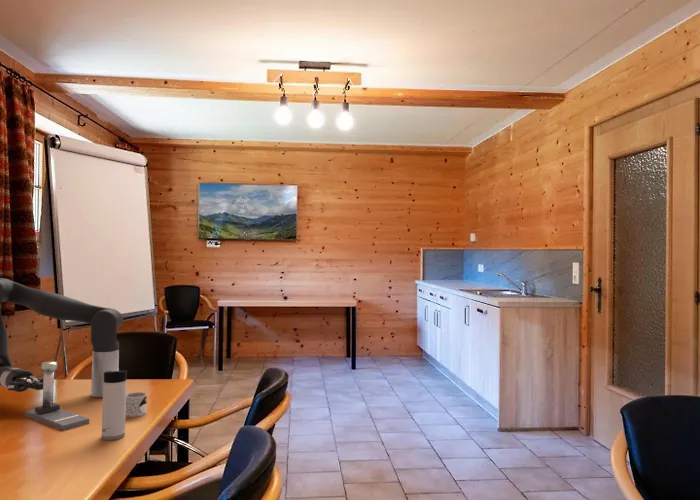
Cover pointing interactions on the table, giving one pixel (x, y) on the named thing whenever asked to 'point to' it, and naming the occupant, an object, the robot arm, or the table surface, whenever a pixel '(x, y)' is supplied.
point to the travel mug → (114, 405)
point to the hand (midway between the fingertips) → (41, 386)
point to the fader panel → (59, 418)
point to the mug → (136, 404)
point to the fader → (48, 388)
